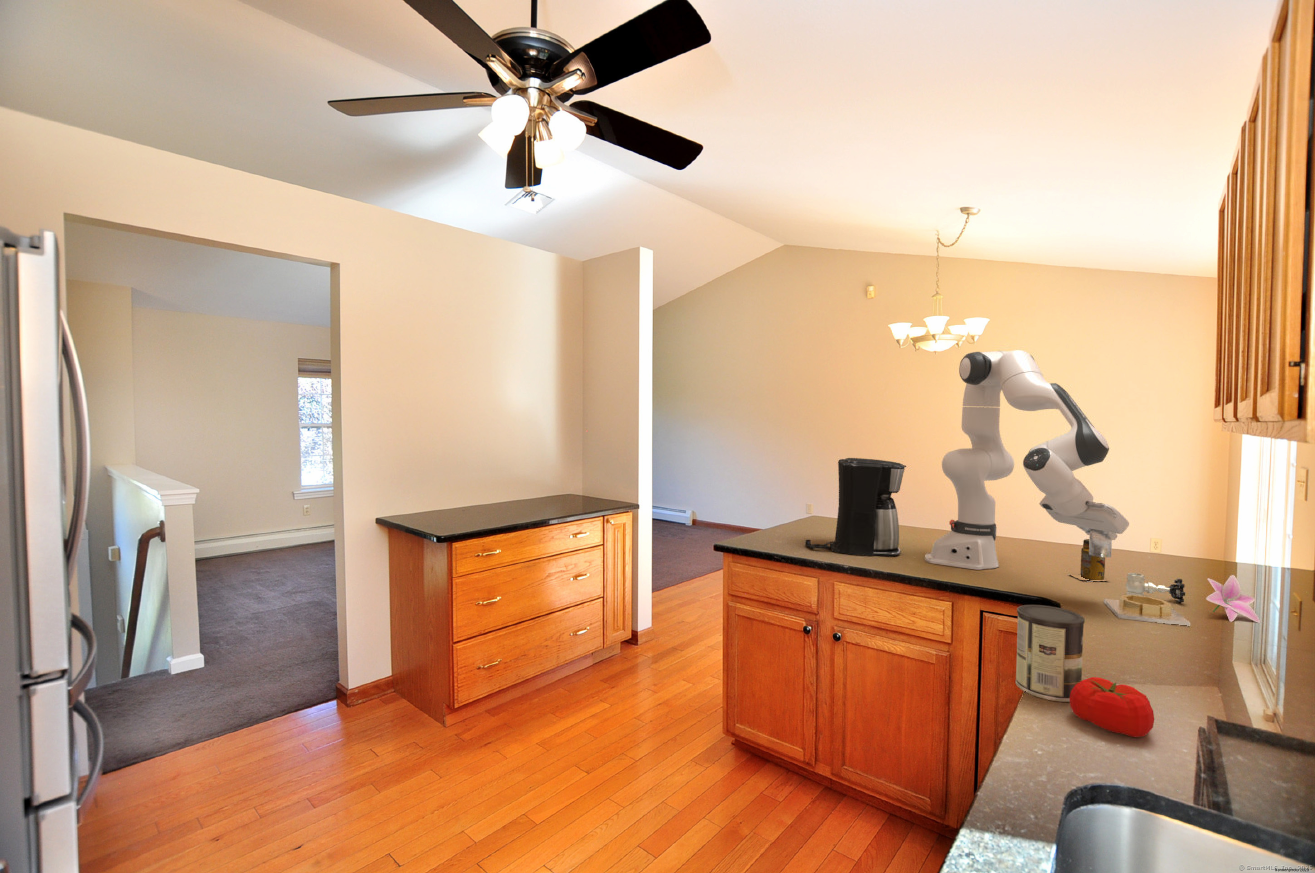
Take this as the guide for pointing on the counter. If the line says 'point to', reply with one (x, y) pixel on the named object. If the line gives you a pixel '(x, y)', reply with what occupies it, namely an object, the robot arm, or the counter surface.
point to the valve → (1153, 587)
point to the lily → (1232, 599)
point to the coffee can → (1049, 651)
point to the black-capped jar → (1099, 544)
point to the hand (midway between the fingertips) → (1102, 535)
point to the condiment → (1091, 564)
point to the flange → (1145, 609)
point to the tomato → (1112, 706)
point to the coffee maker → (867, 508)
